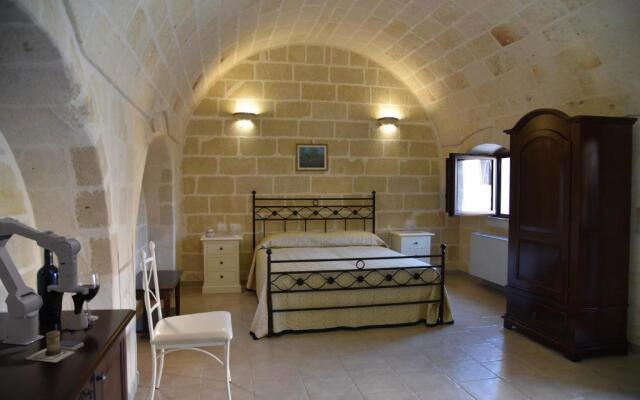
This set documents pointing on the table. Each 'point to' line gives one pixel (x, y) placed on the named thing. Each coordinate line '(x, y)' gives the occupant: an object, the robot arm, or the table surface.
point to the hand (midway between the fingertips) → (68, 313)
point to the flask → (78, 321)
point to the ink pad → (70, 345)
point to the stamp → (53, 343)
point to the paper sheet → (42, 357)
